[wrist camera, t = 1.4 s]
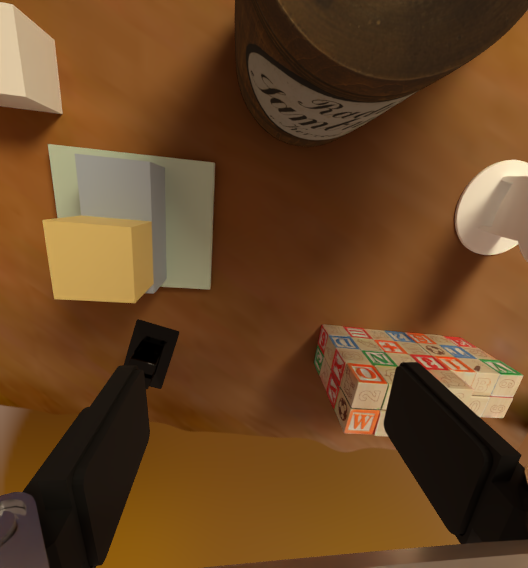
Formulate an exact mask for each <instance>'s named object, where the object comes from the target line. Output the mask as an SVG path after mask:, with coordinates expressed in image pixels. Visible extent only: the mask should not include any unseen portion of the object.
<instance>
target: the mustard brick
mask: <svg viewBox="0 0 528 568" xmlns="http://www.w3.org/2000/svg"><path fill="white" fill-rule="evenodd" d="M42 221H43V227H44V234H45V241H46V248H47V254H48V261H49V268H50V274H51V281H52V288H53V294H54V299H63V300H83V301H103V302H122V303H136V302H137V301H138V300H139V299H140V298H141V297H142V296H143V294H144V293H145V292H146V291H147V290H148V289H149V288H150V287H151V286H152V285H153V284H154V279H153V247H152V221H141V220H130V219H118V218H106V217H94V216H82V215H81V216H72V217H64V218H56V219H48V220H42Z"/></svg>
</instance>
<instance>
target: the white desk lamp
mask: <svg viewBox="0 0 528 568" xmlns="http://www.w3.org/2000/svg"><path fill="white" fill-rule="evenodd" d="M455 228H456V233H457V235H458V238H459V240H460V241H461V243H462V244H463V245H464V246H465V247H466V248H467V249H469V250H470V251H472V252H475V253H478V254H482V255H494V254H499V253H502V252H505V251H507V250H509V249H511V248H513V247H515V246H516V245H517V244H519V248H520V251H521V254H522V255H523V257H524V258H525V260H526V261H527V262H528V163H526V162H524V161H519V160H507V161H501V162H498V163H495V164H492V165H490V166H488V167H487V168H485V169H484V170H482V171H481V172H480V173H478V174H477V175H476V176H475V177H474V178H473V179H472V180H471V181H470V182H469V184H468V185H467V186H466V188H465V189H464V191H463V193H462V195H461V197H460V199H459V202H458V204H457V208H456V213H455Z"/></svg>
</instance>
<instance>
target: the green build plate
mask: <svg viewBox="0 0 528 568" xmlns="http://www.w3.org/2000/svg"><path fill="white" fill-rule="evenodd" d="M48 149H49V157H50V164H51V172H52V179H53V187H54V194H55V202H56V210H57V217H58V218H64V217H72V216H81V209H80V199H79V190H78V181H77V171H76V162H75V154H83V155H92V156H102V157H111V158H120V159H129V160H138V161H148V162H152V163H154V164H157V165H159V166H162V167H165V205H166V269H167V279H166V280H165V281H164V283H163V284H162V285H161V286H160V287H174V288H192V289H209V290H210V288H211V270H212V243H213V215H214V187H215V163H213V162H205V161H196V160H187V159H178V158H169V157H160V156H151V155H142V154H133V153H124V152H115V151H106V150H97V149H88V148H79V147H70V146H61V145H52V144H48Z"/></svg>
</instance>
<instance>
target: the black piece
mask: <svg viewBox="0 0 528 568" xmlns="http://www.w3.org/2000/svg"><path fill="white" fill-rule="evenodd" d="M178 335H179V331H176V330H172V329H169V328H166V327H162V326H159V325H155V324H152V323H149V322H145V321H142V320H139V319H138V320H137V321H136V325H135V328H134V332H133V335H132V339H131V342H130V345H129V349H128V352H127V356H126V359H125V363H124V366H134V365H137V366H138V368H139V370H143V371H144V377H145V387H146V389H148V387H149V386H150V387H154V388H159V389H161V388H162V385H163V382H164V379H165V376H166V372H167V369H168V366H169V363H170V360H171V357H172V354H173V351H174V348H175V345H176V342H177V338H178Z"/></svg>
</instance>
